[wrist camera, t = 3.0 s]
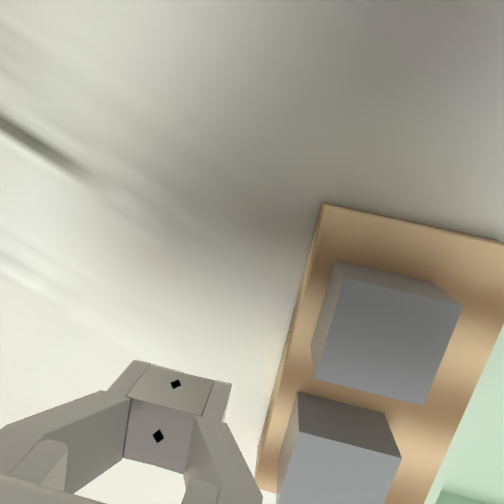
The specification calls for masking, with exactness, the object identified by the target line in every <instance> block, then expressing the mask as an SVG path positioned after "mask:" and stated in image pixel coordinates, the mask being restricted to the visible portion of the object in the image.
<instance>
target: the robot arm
mask: <svg viewBox="0 0 504 504" xmlns="http://www.w3.org/2000/svg"><path fill="white" fill-rule="evenodd" d="M231 387H232V385H231V383H226V382H221V381H217V380H211V379H207V378H202V377H198V376H194V375H190V374H186V373H183V372H180V371H176V370H173V369H169V368H166V367H162V366H158V365H155V364H151V363H147V362H143V361H139V360H134V361H132V363H131V364H130V365H129V366H128V367H127V368H126V369H125V371H124V372H123V373H122V374H121V375H120V376H119V377H118V379H117V380H116V381H115V382H114V383H113V384H112V385H111V387H110V388H109V389H108V390H107V391H102V390H101V391H98V392H96V393H93V394H90V395H87V396H85V397H82V398H79V399H76V400H74V401H71V402H68V403H65V404H63V405H60V406H57V407H54V408H52V409H49V410H46V411H44V412H41V413H38V414H35V415H33V416H30V417H27V418H24V419H22V420H19V421H16V422H13V423H11V424H8V425H6V426H5V427H3V428H2V429H1V430H0V504H106V503H102V502H99V501H95V500H92V499H88V498H85V497H81V496H78V495H74V493H75V492H76V491H78V490H79V489H81V488H82V487H84V486H85V485H86V484H88V483H89V482H91V481H92V480H94V479H95V478H96V477H98V476H99V475H101V474H102V473H103V472H105V471H106V470H108V469H109V468H111V467H112V466H113V465H115V464H116V463H118V462H119V461H121V460H122V458H126V459H130V460H134V461H139V462H143V463H147V464H151V465H155V466H158V467H161V468H164V469H168V470H171V471H174V472H177V473H181V474H184V481H185V486H186V492H185V495H184V498H183V501H182V503H181V504H262V499H263V496H262V494H261V492H260V490H259V488H258V486H257V484H256V482H255V480H254V478H253V476H252V474H251V472H250V470H249V468H248V466H247V464H246V462H245V459H244V457H243V455H242V453H241V451H240V449H239V447H238V445H237V443H236V441H235V439H234V437H233V435H232V433H231V431H230V429H229V427H228V425H227V423H224V418H225V413H226V409H227V405H228V400H229V396H230V391H231Z"/></svg>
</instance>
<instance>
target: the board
mask: <svg viewBox="0 0 504 504" xmlns="http://www.w3.org/2000/svg"><path fill="white" fill-rule="evenodd" d="M334 260H337V261H341V262H346V263H350V264H354V265H359V266H363V267H368V268H372V269H376V270H381V271H385V272H389V273H394V274H398V275H403V276H407V277H411V278H416V279H420V280H424V281H429V282H433V283H434V284H436V285H437V286H438V287H440V288H441V289H442V290H444V291H445V292H446V293H448V294H449V295H450V296H452V297H453V298H454V299H455V300H457V301H458V302H459V303H461V304H462V305H463V306H464V307H463V309H462V311H461V314H460V316H459V319H458V321H457V324H456V326H455V329H454V331H453V334H452V336H451V339H450V341H449V344H448V346H447V349H446V351H445V354H444V356H443V358H442V361H441V363H440V366H439V368H438V371H437V373H436V376H435V378H434V381H433V383H432V386H431V388H430V391H429V393H428V396H427V398H426V401H425V403H424V405H423V406H421V405H417V404H413V403H409V402H405V401H401V400H397V399H393V398H389V397H385V396H381V395H377V394H373V393H369V392H365V391H361V390H357V389H353V388H349V387H345V386H341V385H337V384H333V383H329V382H325V381H321V380H317V379H314V371H313V363H312V355H311V347H310V345H311V341H312V338H313V334H314V331H315V327H316V324H317V320H318V317H319V313H320V310H321V306H322V303H323V299H324V296H325V292H326V289H327V285H328V281H329V278H330V274H331V271H332V267H333V264H334ZM503 324H504V243H502V242H499V241H495V240H491V239H486V238H482V237H477V236H473V235H468V234H463V233H459V232H454V231H450V230H445V229H441V228H436V227H432V226H427V225H422V224H418V223H413V222H409V221H404V220H400V219H395V218H390V217H386V216H381V215H377V214H372V213H368V212H363V211H358V210H354V209H349V208H345V207H340V206H336V205H331V204H326V203H322V205H321V209H320V213H319V217H318V220H317V224H316V228H315V232H314V236H313V239H312V243H311V247H310V251H309V255H308V259H307V262H306V266H305V270H304V274H303V278H302V282H301V285H300V289H299V293H298V297H297V301H296V305H295V308H294V312H293V316H292V320H291V324H290V327H289V331H288V335H287V339H286V343H285V347H284V350H283V354H282V358H281V362H280V366H279V370H278V373H277V377H276V381H275V385H274V389H273V392H272V396H271V400H270V404H269V408H268V412H267V415H266V419H265V423H264V427H263V431H262V435H261V438H260V442H259V446H258V452H257V460H256V469H255V478H254V480H255V482H256V484H257V486H258V488H259V489H262V490H266V491H269V492H273V493H277V467H278V458H279V454H280V451H281V447H282V444H283V440H284V436H285V433H286V429H287V426H288V422H289V419H290V415H291V412H292V408H293V405H294V401H295V398H296V394H297V391H298V392H302V393H305V394H309V395H313V396H317V397H321V398H325V399H329V400H333V401H337V402H341V403H345V404H349V405H353V406H357V407H361V408H365V409H369V410H373V411H377V412H381V413H384V414H385V416H386V419H387V422H388V424H389V427H390V429H391V432H392V434H393V437H394V439H395V442H396V444H397V447H398V449H399V452H400V454H401V457H402V460H401V462H400V465H399V467H398V470H397V472H396V475H395V477H394V480H393V482H392V485H391V487H390V490H389V492H388V494H387V497H386V499H385V502H384V504H424V502H425V500H426V497H427V495H428V493H429V491H430V489H431V486H432V484H433V482H434V480H435V477H436V475H437V473H438V471H439V468H440V466H441V464H442V462H443V459H444V457H445V455H446V453H447V450H448V448H449V446H450V444H451V441H452V439H453V437H454V435H455V432H456V430H457V428H458V426H459V423H460V421H461V419H462V417H463V414H464V412H465V410H466V408H467V405H468V403H469V401H470V399H471V396H472V394H473V392H474V390H475V387H476V385H477V383H478V381H479V378H480V376H481V374H482V372H483V369H484V367H485V365H486V363H487V360H488V358H489V356H490V354H491V351H492V349H493V347H494V345H495V342H496V340H497V338H498V336H499V333H500V331H501V329H502V327H503Z"/></svg>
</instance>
